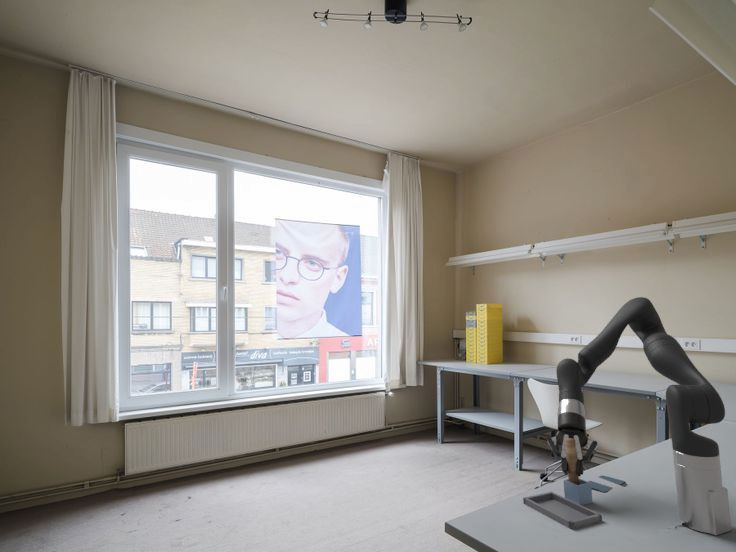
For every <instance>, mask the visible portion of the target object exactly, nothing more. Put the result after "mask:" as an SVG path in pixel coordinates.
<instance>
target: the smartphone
mask: <svg viewBox="0 0 736 552" xmlns="http://www.w3.org/2000/svg"><path fill="white" fill-rule="evenodd" d="M598 478H600V479H602V480H605V481H608V482H610V483H612V484H616V485H619V486H621V487H624V486H626V485H627V482H626V481H625V480H621V479H619V478H615V477H610V476H606V475H600V476H598ZM587 482H590V483H591V489H592V491H595V492H599V493H603V494H606V493H608V492H610V491H611V490H612V489H614V488H613V487H612V486H609V485H605V484H602V483H599V482H596V481H592V480H588V481H587Z"/></svg>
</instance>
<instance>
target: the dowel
mask: <svg viewBox="0 0 736 552" xmlns="http://www.w3.org/2000/svg"><path fill="white" fill-rule="evenodd" d="M565 447H566V458H567V468H568V475H567V476H568V478H567V479H568V480H569V482H572V483H574V484H577V485H579V478H580V477H579V476H578V475H577V460H578V458H577V452H576V444H575V439H572V438H566V439H565Z"/></svg>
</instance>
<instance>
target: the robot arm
mask: <svg viewBox="0 0 736 552" xmlns="http://www.w3.org/2000/svg"><path fill="white" fill-rule="evenodd" d="M627 326H629V328H630V330H632V332H633V333H634V334H635V335H636V336H637V337H638V338H639V339H640V341H641V343H642V344H643V345H642V348H643V351H644V354H645V356H646V358H647V360H648V362H649V364H650V365H651V368H653V370H654V371H656V373H658V374H660V375H661V376H662V377H665V378H667V379H668V380H671V381H672V382H675V383H676V384H671V385H669V386H668V387H667V388H666V391H665V404H666V412H667V418H668V424H669V433H670V439H671V446H672V447H671V448H672V457H673V468H674V478H675V479H674V480H675V488H676V489H675V490H676V499H677V500H676V501H677V508H678V510H677V511H678V518H679V519H680V521H682V523H681V524H682V525H683V526H684V527H687V528H688V529H691V530H694V531H698V532H701V533H706V534H710V535H713V536H718V535H722V534H725V533H728V532H731V531H732V520H731V512H730V511H731V510H730V501H729V493H728V492H729V491H728V488H727V487H725V486H723V478H722V465H721V456H720V446H719V444H718V442H717V441H715V440H714V439H712V438H710V437H706V436H703V435H700V434H698V433H696V432H694V431H693V430H691V427H690V424H699V425H700V424H703V425H711V424H719V423H720V422H722V421H723V420H724V418H725V416H726V408H725V404H724V402H723V400H722V397H721V395H720V394H719V392H718V391H717V390H716V388H715V386H713V385H712V384H711V383H710V382H709V380H708V379H707V378H706V377H705V376H704V375H703V374H702V373H701V372H700V370H698V369H697V367H696V366H695V365H694V363H693V362H692V360H691V359H690V358H689V356H688V355H687V353H686V351H685V350H684V348H683V347H682V345H681V344H680V343H679V341H678V340H677V339H676V338H674V336H672V335H670V334H668V333H667V331H666V330H665V328H664V324H663V322H662V319H661V317H660V315H659V313H658V312H657V310H656V308H655V306H654V304H653V303H652V302H651V300H650V299H649V298H648V297H643V296H639V297H635V298H632V299H630V300H628V301H627V302H625V303H624V304H623V305H622V306H621V307H620V309H619V310H618V311H617V312H616V313H615V314H614V315H613V316H612V318H611V319H610V321H609V322H608V323H607V324H606V326H605V327H604V328H603V329H602V331H601V332H599V334H597V336H596V337H595V338H593V339H592V340H591V341H590V342H589V343H588V344H586V346H584V347H583V348H582V349H581V350H580V351H579V352H578V353H577V361H576V360H575V359H573V358H563V359H561V360H560V361H559V362H558V364H557V366H556V369H555V370H556V379H557V385H558V407H557V413H556V415H557V432H556V433H555V436H552V437H551V436H547V437H546V441H547V444H548V446H549V448H550V450H551V452H552V454H553V456H554V458H555V460H560V462H561V471H562V473H564V475H565V476H568V468H567V458H566V447H565V439H566V438H572V439H575V444H576V454H577V475H578V476H579V478H580V477H582V475H584V464H585V463H586V464H589V463H591V461H592V459H593V457H594V456H595V454H596V452H597V450H599V449H598V447H599V446H598V441H596V440H591V439H589V437H588V435H587V427H586V424H587V419H586V410H585V395H584V393H583V390H582V387H584V386H585V385H586V384H587V383H588V382H589V380H590V379H591V377H592V376H593V375H594V373H595V371H596V369H598V367H600V365H602V364H603V363H604V362H605V361H607V360H608V359H609V358H611V356H612V354H613V353H614V352H615V350H616V348H617V346H618V344H619V342H620V339H621V337H622V334H623V333H624V331H625V330H626V327H627ZM557 442H558V444H559V445H560V447H561V452H559V450H558V449H557V446H556V445H557ZM586 446H588V447H587V448H588V449H587V451H586V452H585V454H584V455H583V453H582V450H583V449H584V448H585V447H586Z"/></svg>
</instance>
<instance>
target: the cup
mask: <svg viewBox="0 0 736 552" xmlns="http://www.w3.org/2000/svg"><path fill="white" fill-rule="evenodd" d="M563 491H564V498H566V499H569V500H571V501H573V502H575V503H577V504H579V505H582V506H584V505H585V506H586V505H588V504H592V503H593V490H592V489H591V483H590V482H588V481H587V480H585V479H582V478H580V477H579V485H577V484H574V483H572V482H569V480H568V478H567V479H563Z"/></svg>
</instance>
